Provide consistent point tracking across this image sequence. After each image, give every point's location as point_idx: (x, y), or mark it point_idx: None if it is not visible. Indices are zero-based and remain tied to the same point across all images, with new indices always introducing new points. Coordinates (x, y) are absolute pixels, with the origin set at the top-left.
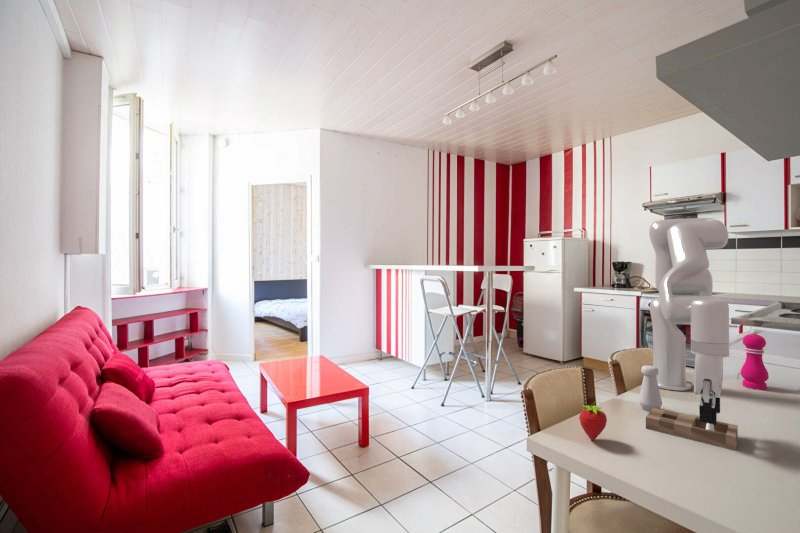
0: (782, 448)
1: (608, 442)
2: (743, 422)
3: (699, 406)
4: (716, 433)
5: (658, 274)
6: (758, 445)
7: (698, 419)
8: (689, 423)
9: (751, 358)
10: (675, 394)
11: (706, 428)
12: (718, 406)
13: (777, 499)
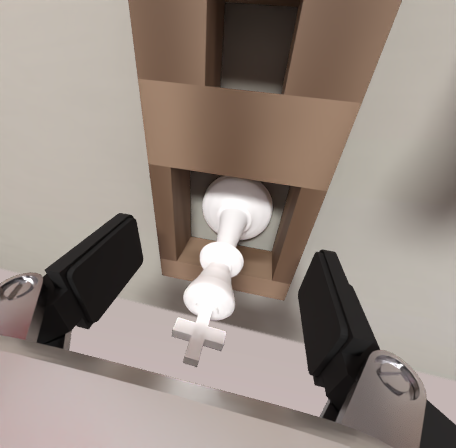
0: (260, 322)
1: None
2: (448, 307)
3: (54, 262)
4: (159, 237)
5: None
6: (249, 293)
7: (296, 197)
8: (198, 158)
9: None
10: None
11: (225, 213)
12: (303, 323)
13: (21, 263)
